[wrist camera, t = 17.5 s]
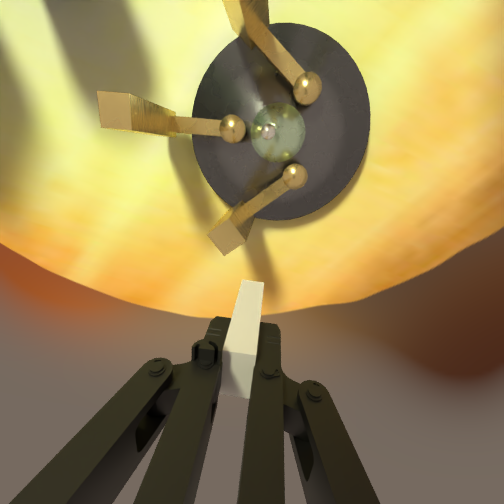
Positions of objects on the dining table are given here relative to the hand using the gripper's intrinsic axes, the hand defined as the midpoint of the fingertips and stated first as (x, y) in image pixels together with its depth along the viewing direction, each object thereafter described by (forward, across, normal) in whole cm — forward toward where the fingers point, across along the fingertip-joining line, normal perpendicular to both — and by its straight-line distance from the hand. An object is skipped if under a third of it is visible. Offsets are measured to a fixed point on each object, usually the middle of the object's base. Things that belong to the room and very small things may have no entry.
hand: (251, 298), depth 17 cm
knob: (+16, -9, +11) cm, 22 cm away
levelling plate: (+18, 0, +11) cm, 21 cm away
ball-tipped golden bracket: (+16, 0, +4) cm, 17 cm away
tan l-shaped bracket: (+17, -1, +18) cm, 24 cm away
